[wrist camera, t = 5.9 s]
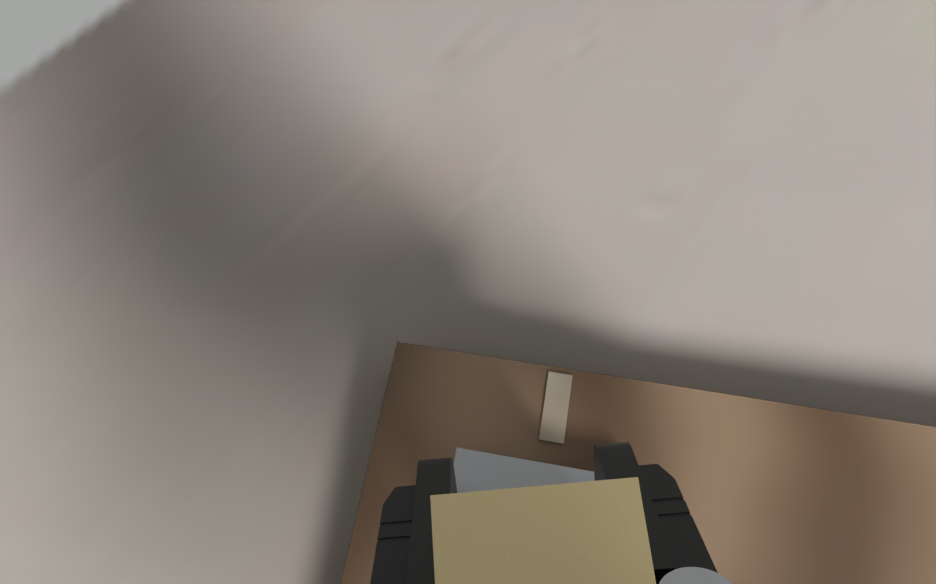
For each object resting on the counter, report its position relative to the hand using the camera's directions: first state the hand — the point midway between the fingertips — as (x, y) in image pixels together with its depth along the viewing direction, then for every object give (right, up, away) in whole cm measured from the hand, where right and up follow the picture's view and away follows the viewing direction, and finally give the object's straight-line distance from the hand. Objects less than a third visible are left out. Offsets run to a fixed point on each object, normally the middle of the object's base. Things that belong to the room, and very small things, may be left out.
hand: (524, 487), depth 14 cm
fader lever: (0, -3, +3) cm, 4 cm away
